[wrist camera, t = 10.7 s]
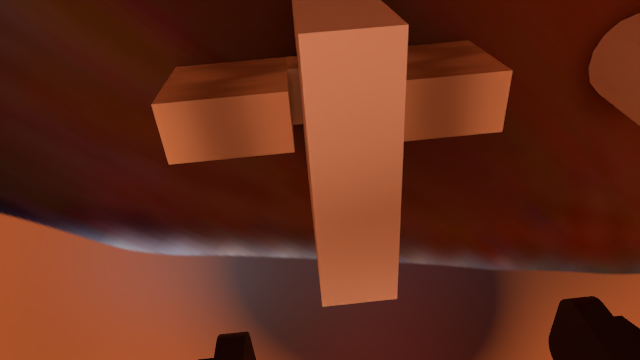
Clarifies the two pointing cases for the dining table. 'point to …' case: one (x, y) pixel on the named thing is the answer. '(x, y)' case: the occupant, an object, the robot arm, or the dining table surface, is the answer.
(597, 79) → the shot glass
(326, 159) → the plain rectangular block
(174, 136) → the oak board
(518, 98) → the dining table surface
